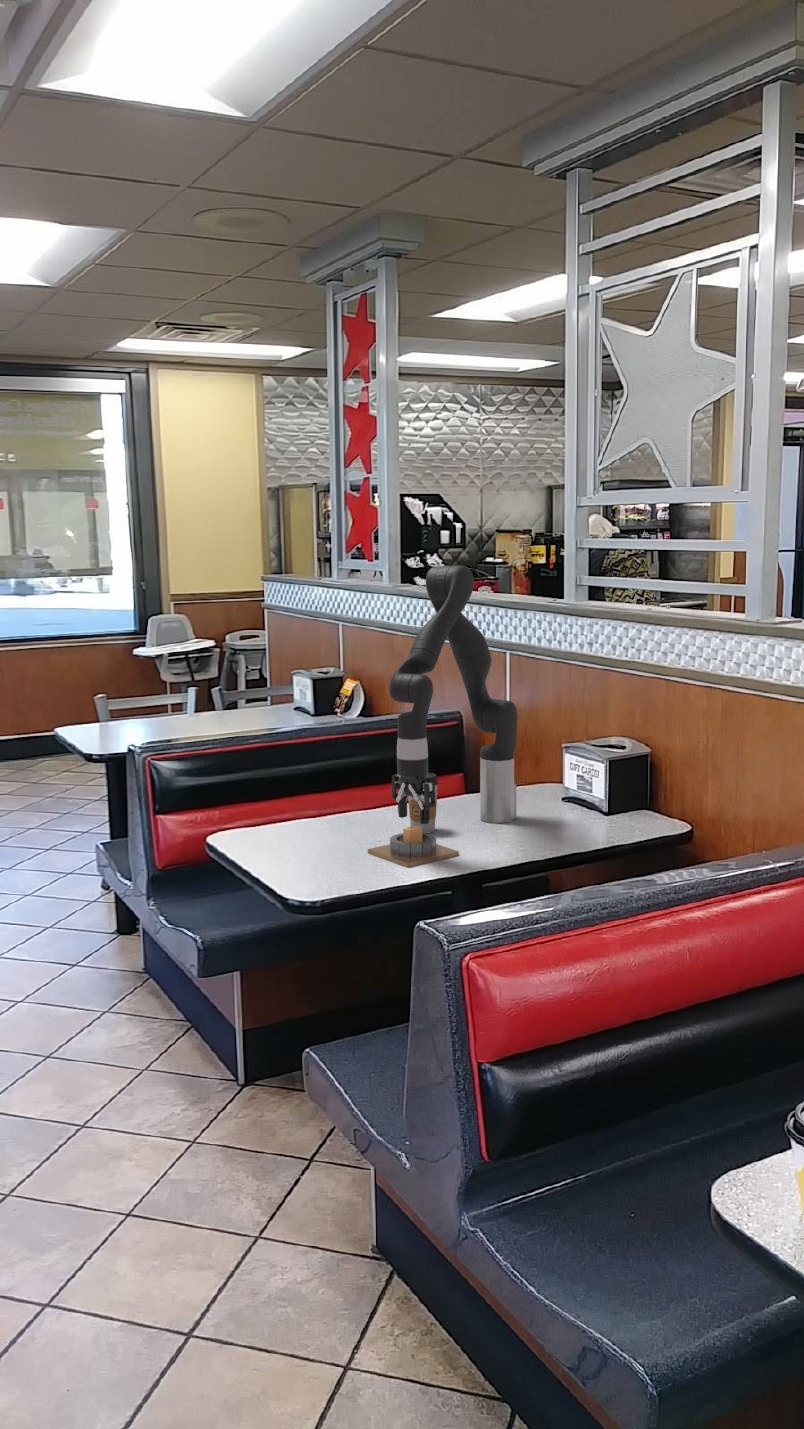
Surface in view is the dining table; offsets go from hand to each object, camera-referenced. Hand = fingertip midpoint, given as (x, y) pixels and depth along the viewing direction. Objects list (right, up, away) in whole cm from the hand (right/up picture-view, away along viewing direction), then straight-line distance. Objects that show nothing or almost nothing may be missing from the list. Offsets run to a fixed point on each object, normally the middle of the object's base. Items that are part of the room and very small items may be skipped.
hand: (413, 820), depth 273 cm
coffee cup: (+3, -5, +23) cm, 24 cm away
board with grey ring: (0, -8, +1) cm, 9 cm away
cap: (0, -7, +1) cm, 8 cm away
